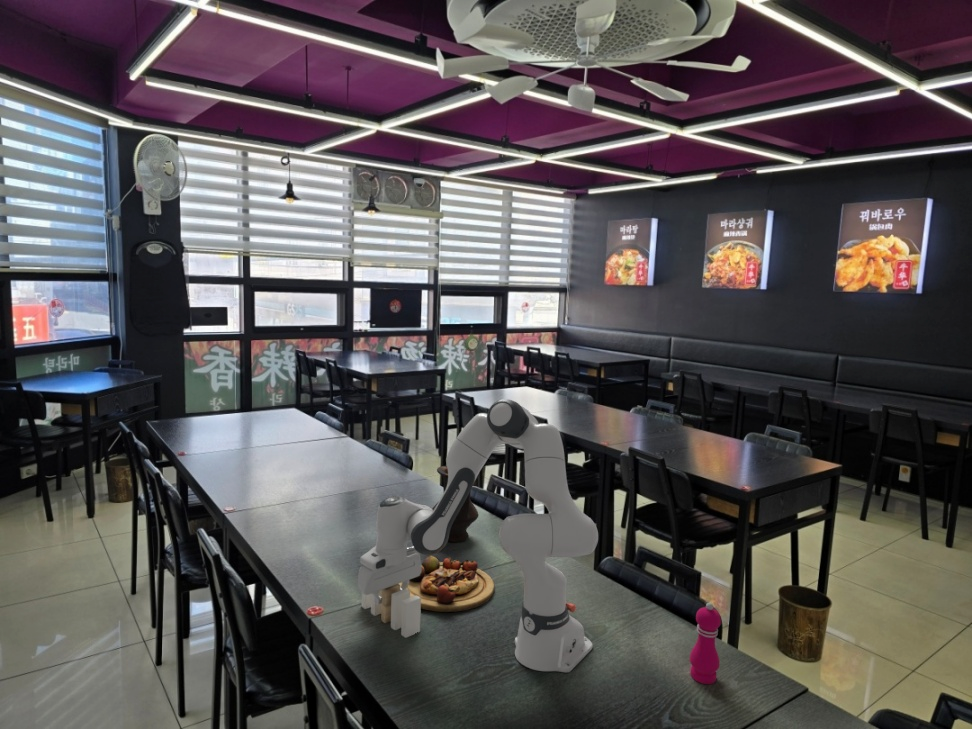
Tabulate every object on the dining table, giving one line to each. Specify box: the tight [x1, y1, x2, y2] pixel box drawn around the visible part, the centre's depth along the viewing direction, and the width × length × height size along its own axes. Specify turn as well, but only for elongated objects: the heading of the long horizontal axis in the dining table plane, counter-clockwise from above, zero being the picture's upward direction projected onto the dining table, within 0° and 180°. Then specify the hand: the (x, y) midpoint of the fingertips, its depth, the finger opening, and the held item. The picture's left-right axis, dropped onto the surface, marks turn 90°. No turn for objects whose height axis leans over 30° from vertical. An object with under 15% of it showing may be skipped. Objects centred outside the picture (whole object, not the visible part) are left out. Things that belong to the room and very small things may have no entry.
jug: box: [431, 465, 479, 543], centre depth 240 cm, size 21×18×30 cm
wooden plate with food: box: [399, 555, 496, 613], centre depth 202 cm, size 32×32×8 cm
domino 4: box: [390, 589, 410, 631], centre depth 179 cm, size 5×2×10 cm, turn 134°
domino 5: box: [400, 595, 422, 639], centre depth 175 cm, size 5×2×10 cm, turn 134°
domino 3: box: [380, 584, 400, 624], centre depth 182 cm, size 5×2×10 cm, turn 134°
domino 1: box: [360, 593, 371, 610], centre depth 189 cm, size 5×2×10 cm, turn 134°
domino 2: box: [370, 590, 382, 617], centre depth 186 cm, size 5×2×10 cm, turn 134°
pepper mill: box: [689, 602, 722, 685], centre depth 160 cm, size 7×7×20 cm
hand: (390, 598), depth 182 cm, fingers open, 7 cm apart
